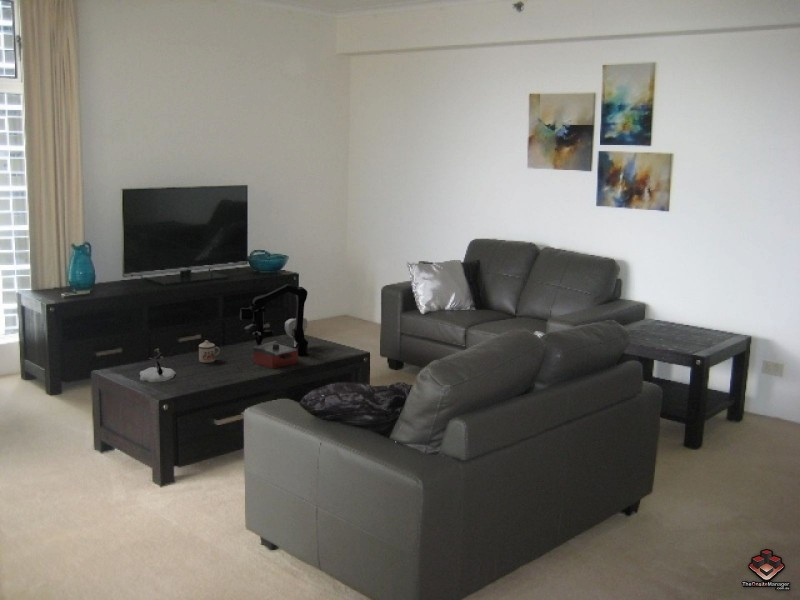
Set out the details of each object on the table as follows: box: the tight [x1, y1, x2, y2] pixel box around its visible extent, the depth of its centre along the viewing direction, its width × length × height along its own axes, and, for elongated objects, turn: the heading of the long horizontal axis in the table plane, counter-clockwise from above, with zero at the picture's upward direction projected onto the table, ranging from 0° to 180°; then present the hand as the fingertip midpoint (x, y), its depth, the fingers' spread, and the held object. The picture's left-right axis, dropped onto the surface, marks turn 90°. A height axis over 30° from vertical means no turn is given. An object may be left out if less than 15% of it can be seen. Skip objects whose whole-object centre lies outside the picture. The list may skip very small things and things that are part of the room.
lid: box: [253, 340, 296, 355], centre depth 488 cm, size 16×18×5 cm
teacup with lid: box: [198, 340, 221, 364], centre depth 489 cm, size 12×9×12 cm
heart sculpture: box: [284, 317, 308, 347], centre depth 520 cm, size 16×5×18 cm, turn 142°
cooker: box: [253, 342, 299, 370], centre depth 488 cm, size 19×18×9 cm
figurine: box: [139, 348, 177, 383], centre depth 456 cm, size 20×18×16 cm
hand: (258, 345), depth 497 cm, fingers closed
